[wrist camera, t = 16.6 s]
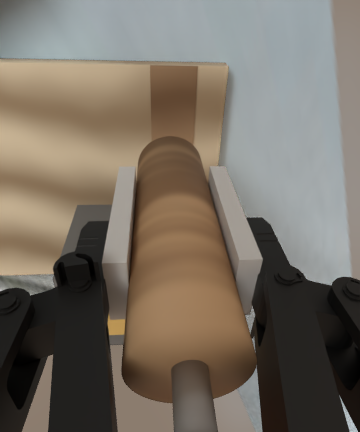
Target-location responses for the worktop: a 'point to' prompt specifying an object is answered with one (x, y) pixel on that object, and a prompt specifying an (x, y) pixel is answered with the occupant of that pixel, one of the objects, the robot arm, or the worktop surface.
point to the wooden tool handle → (182, 292)
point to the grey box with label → (78, 222)
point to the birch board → (89, 139)
